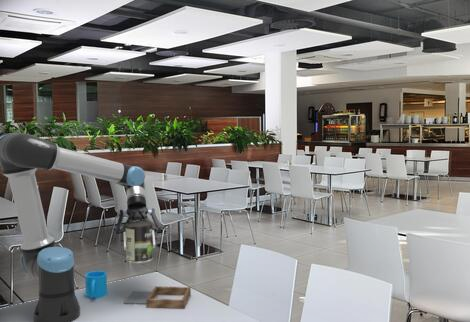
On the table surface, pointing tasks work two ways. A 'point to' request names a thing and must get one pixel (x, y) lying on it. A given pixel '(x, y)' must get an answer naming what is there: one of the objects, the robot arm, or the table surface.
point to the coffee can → (139, 242)
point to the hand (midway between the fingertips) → (139, 247)
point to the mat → (137, 297)
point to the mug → (96, 284)
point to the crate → (168, 303)
